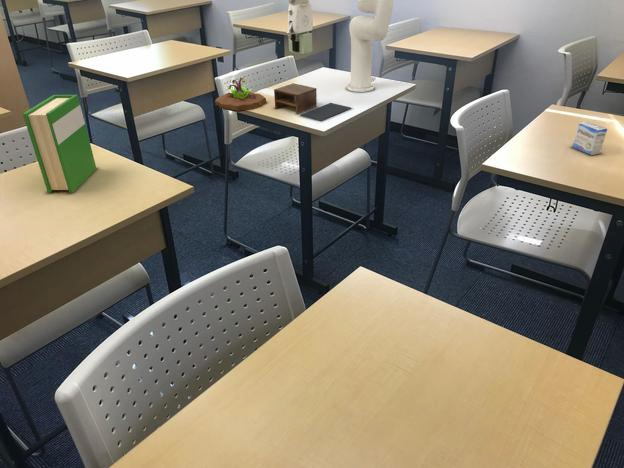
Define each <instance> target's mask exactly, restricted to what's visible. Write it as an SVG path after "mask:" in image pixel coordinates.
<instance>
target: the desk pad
mask: <svg viewBox="0 0 624 468" xmlns="http://www.w3.org/2000/svg"><path fill="white" fill-rule="evenodd" d="M351 109H352V107H350V106H347V105H342V104H338V103H333V102H329V103H327V104H324V105H321V106H319V107H316V108H313V109H310V110H308V111H305V112H303V113H300V114H299V115H300V117H303V118H307V119H310V120H315V121H319V122H323V121H326V120H328V119H330V118H332V117H333V118H334V116H337V115H340V114H342V113H344V112H346V111H349V110H351Z"/></svg>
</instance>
